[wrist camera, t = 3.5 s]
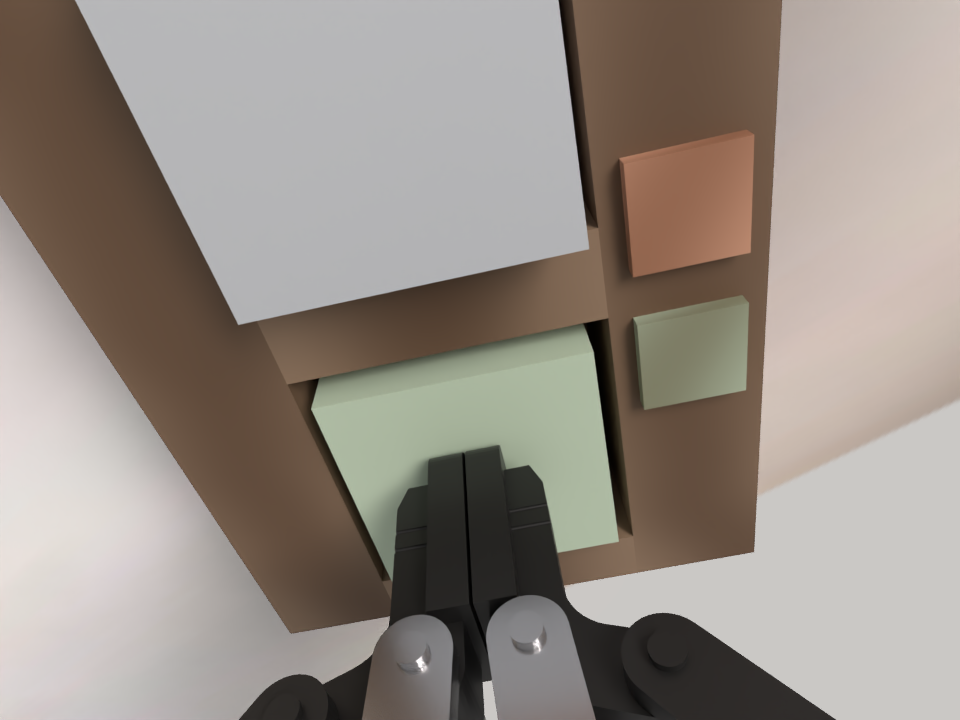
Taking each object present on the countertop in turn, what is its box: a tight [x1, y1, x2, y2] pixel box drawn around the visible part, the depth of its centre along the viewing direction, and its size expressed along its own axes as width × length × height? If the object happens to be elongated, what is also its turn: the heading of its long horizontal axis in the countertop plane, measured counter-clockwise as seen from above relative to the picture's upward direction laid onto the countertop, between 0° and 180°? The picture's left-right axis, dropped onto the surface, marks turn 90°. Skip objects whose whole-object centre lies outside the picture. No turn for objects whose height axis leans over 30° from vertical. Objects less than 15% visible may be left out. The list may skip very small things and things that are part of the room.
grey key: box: [75, 0, 589, 325], centre depth 9 cm, size 5×5×3 cm
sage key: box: [311, 323, 619, 581], centre depth 15 cm, size 5×5×3 cm
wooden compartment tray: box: [0, 0, 782, 634], centre depth 11 cm, size 12×25×6 cm, turn 12°
